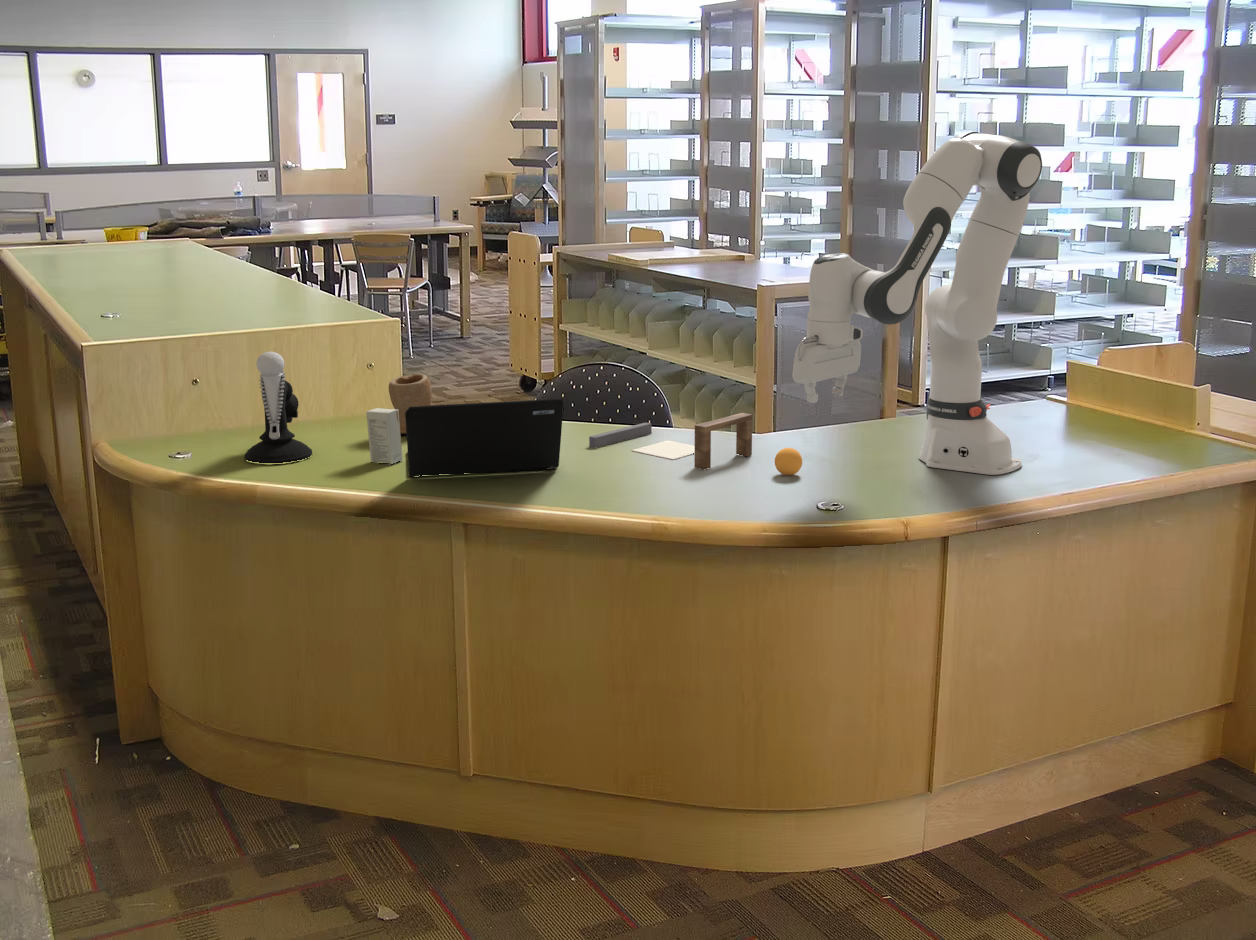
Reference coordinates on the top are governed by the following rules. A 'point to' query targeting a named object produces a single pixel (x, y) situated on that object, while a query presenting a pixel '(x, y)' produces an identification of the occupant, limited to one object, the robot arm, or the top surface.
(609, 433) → the wall
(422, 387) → the stone cup
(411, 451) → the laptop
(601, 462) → the top surface
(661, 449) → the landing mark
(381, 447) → the skincare box
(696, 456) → the bridge
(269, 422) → the sculpture
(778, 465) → the ball
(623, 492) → the top surface
